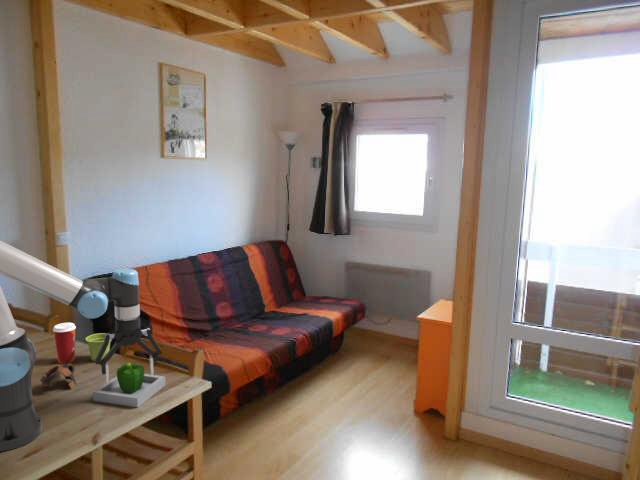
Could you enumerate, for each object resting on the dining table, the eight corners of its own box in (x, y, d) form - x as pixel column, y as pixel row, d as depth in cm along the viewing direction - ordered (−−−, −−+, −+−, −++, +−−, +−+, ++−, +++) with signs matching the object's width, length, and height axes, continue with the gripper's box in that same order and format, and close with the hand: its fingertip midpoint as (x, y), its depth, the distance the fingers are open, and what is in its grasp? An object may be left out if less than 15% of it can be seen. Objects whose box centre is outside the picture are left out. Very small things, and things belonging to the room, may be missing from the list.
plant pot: (108, 352, 190) (107, 331, 188) (117, 359, 183) (116, 337, 182) (83, 358, 183) (82, 336, 182) (92, 365, 176) (90, 343, 175)
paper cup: (82, 359, 182) (79, 324, 180) (62, 366, 175) (59, 330, 173) (70, 354, 186) (68, 320, 184) (50, 361, 180) (48, 326, 177)
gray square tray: (137, 407, 147) (137, 398, 147) (93, 400, 151) (92, 391, 150) (165, 384, 162) (165, 376, 162) (124, 379, 166) (124, 371, 166)
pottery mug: (70, 394, 155) (53, 376, 152) (47, 404, 157) (31, 386, 154) (87, 370, 166) (72, 353, 163) (66, 379, 168) (51, 362, 165)
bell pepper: (127, 382, 161) (126, 354, 160) (149, 385, 160) (148, 357, 158) (111, 394, 153) (110, 364, 152) (134, 397, 151) (133, 367, 150)
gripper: (165, 309, 161) (167, 368, 165) (84, 318, 150) (88, 381, 154) (169, 315, 155) (171, 376, 158) (84, 325, 144) (88, 391, 147)
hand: (130, 379), depth 156 cm, fingers open, 13 cm apart
